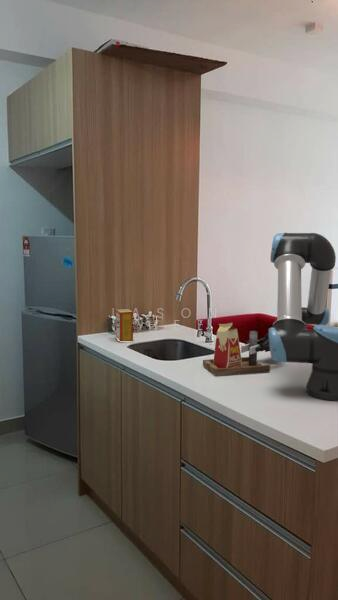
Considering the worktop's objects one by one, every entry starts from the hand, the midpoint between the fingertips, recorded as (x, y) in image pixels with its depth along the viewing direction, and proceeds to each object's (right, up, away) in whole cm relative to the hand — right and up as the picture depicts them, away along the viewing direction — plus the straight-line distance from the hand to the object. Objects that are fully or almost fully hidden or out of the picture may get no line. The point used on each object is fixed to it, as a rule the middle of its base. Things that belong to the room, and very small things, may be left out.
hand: (246, 350), depth 194 cm
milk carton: (-8, -9, +2) cm, 12 cm away
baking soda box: (-54, -1, +55) cm, 77 cm away
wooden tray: (-4, -8, +3) cm, 10 cm away
